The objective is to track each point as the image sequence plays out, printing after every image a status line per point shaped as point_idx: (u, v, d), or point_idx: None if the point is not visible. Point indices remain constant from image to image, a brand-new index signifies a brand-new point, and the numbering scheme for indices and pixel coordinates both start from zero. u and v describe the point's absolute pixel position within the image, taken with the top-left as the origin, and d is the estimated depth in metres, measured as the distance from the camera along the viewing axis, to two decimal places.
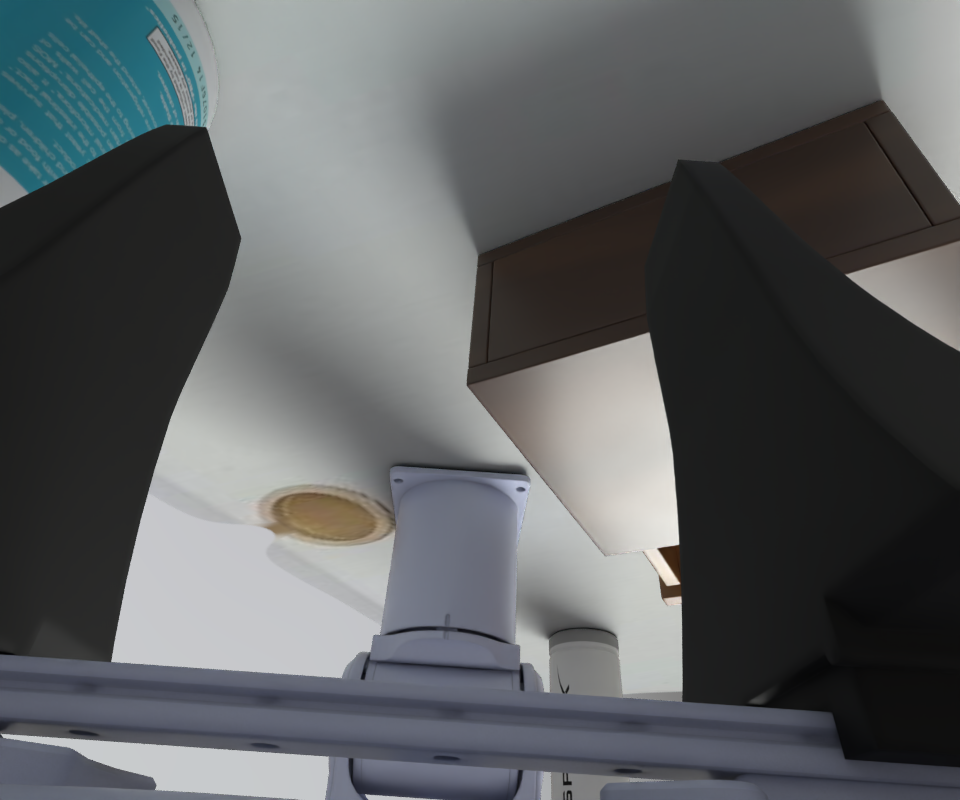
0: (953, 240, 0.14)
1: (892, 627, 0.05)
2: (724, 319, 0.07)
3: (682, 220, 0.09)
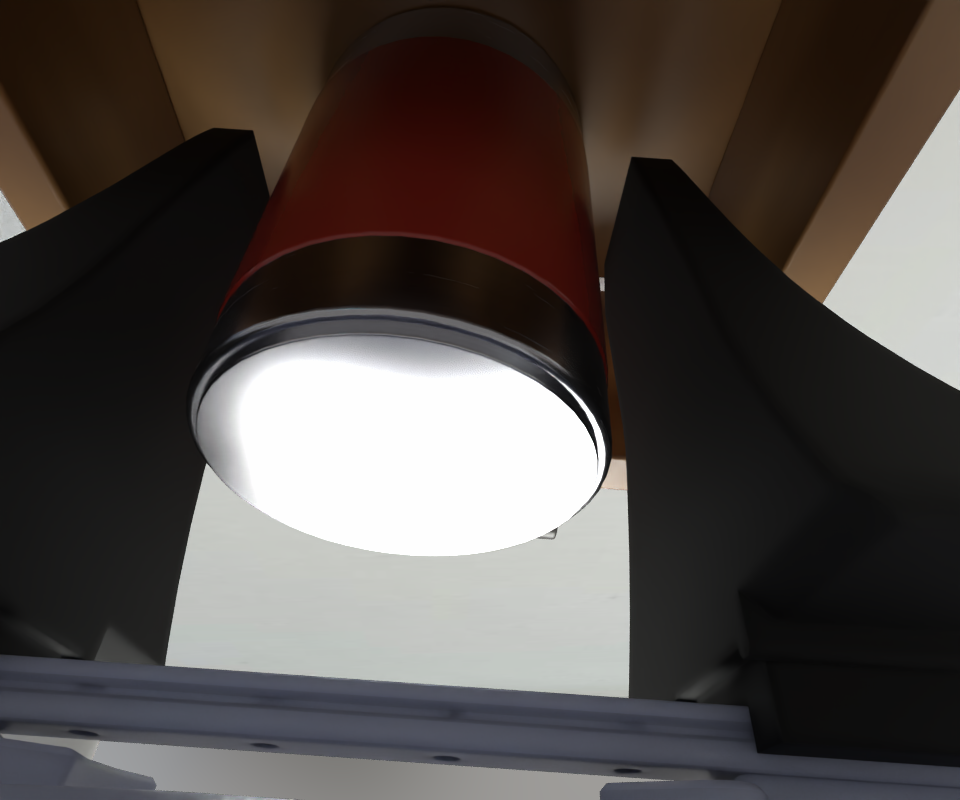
0: None
1: (801, 621, 0.05)
2: (666, 315, 0.07)
3: (633, 217, 0.09)
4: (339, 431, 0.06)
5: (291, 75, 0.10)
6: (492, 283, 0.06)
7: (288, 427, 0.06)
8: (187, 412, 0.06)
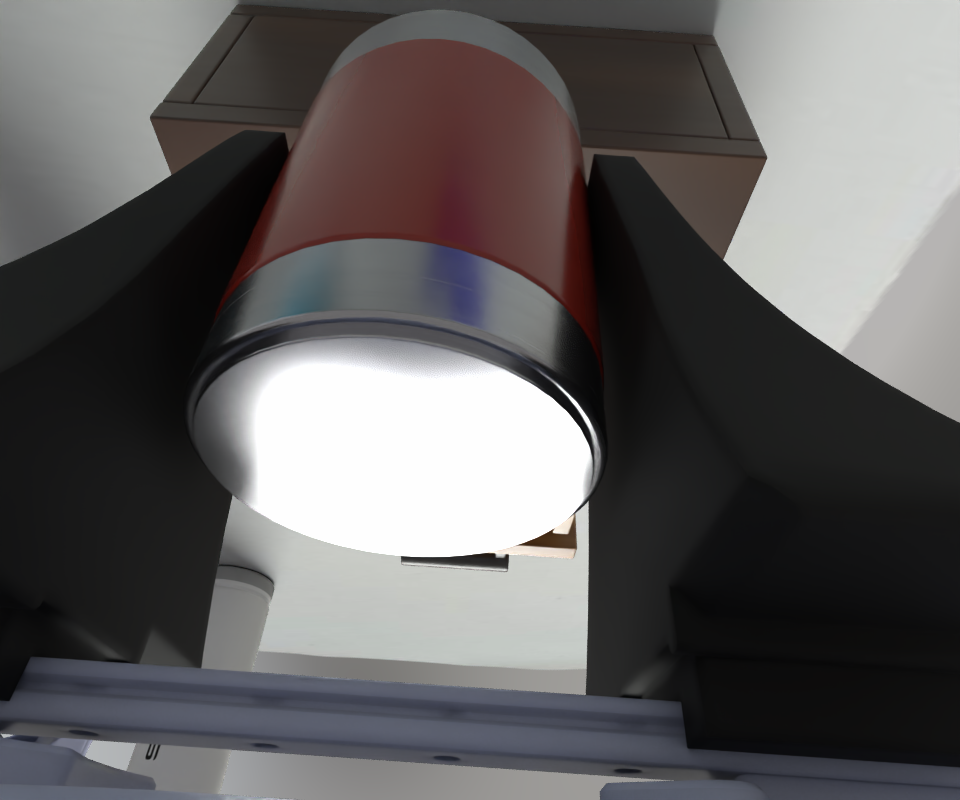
0: (743, 154, 0.13)
1: (729, 616, 0.05)
2: (620, 312, 0.07)
3: (594, 214, 0.09)
4: (335, 433, 0.06)
5: None
6: (487, 286, 0.06)
7: (284, 429, 0.06)
8: (184, 414, 0.06)
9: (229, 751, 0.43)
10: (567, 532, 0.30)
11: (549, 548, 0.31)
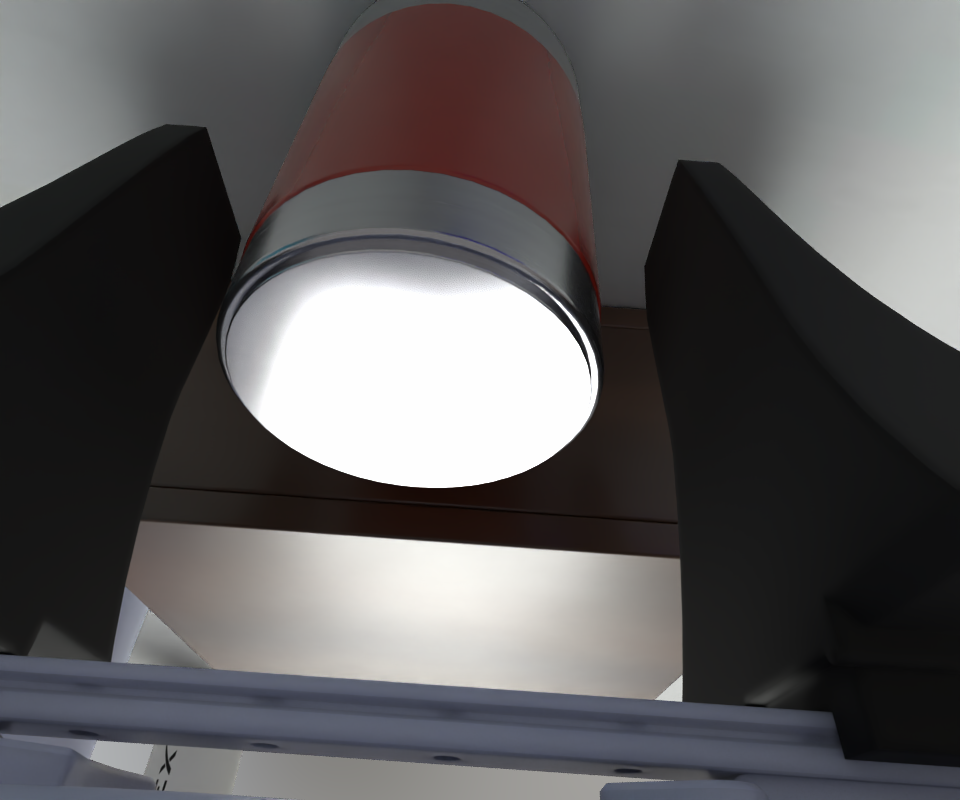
0: None
1: (892, 627, 0.05)
2: (724, 319, 0.07)
3: (682, 220, 0.09)
4: (356, 352, 0.07)
5: None
6: (495, 211, 0.06)
7: (309, 348, 0.07)
8: (217, 336, 0.07)
9: None
10: None
11: None
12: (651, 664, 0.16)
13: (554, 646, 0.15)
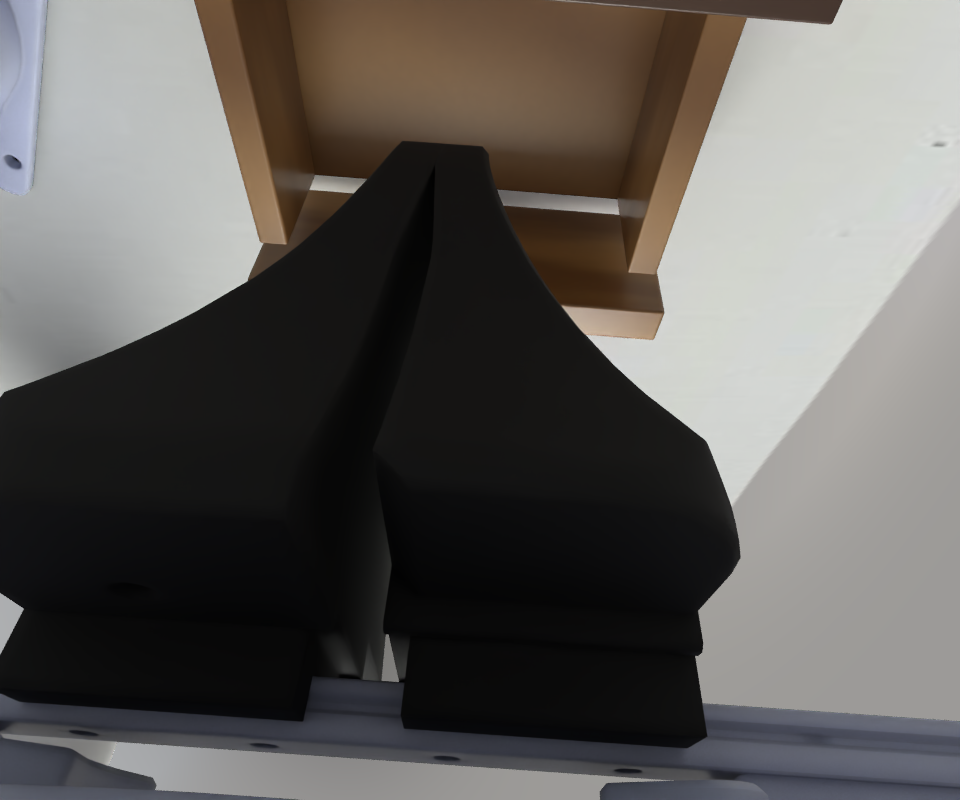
0: None
1: (435, 595, 0.05)
2: None
3: None
4: None
5: (374, 54, 0.16)
6: None
7: None
8: None
9: None
10: (654, 269, 0.17)
11: (618, 312, 0.18)
12: None
13: None
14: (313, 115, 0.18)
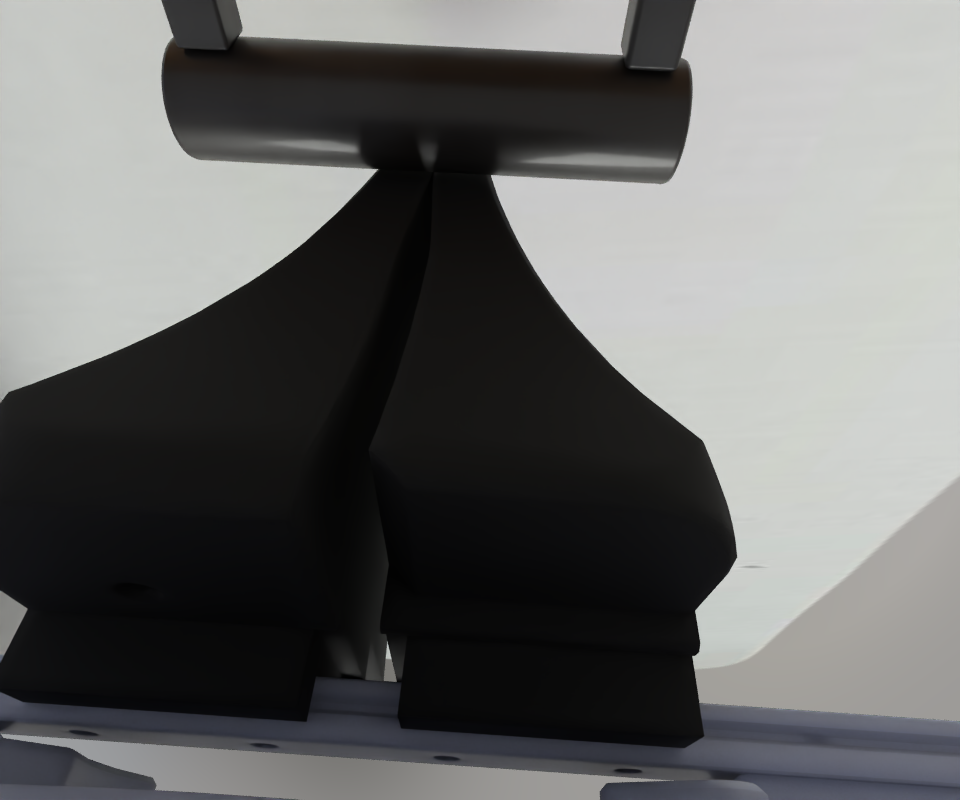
0: None
1: (432, 595, 0.05)
2: None
3: None
4: None
5: None
6: None
7: None
8: None
9: None
10: None
11: None
12: None
13: None
14: None
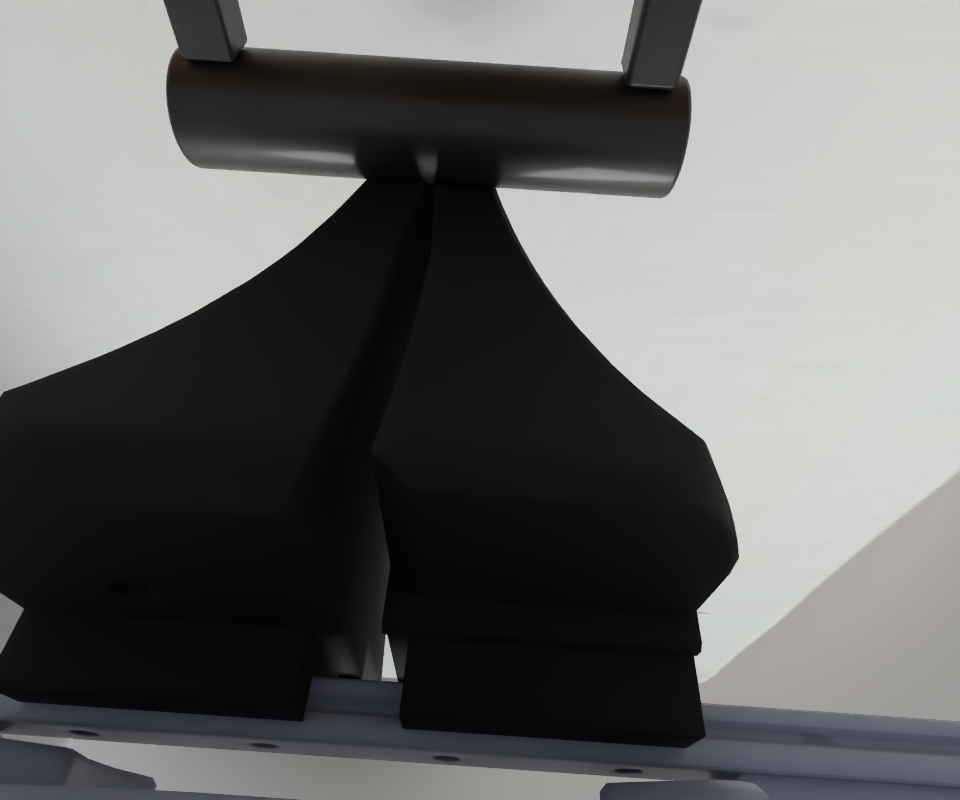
0: None
1: (434, 595, 0.05)
2: None
3: None
4: None
5: None
6: None
7: None
8: None
9: None
10: None
11: None
12: None
13: None
14: None
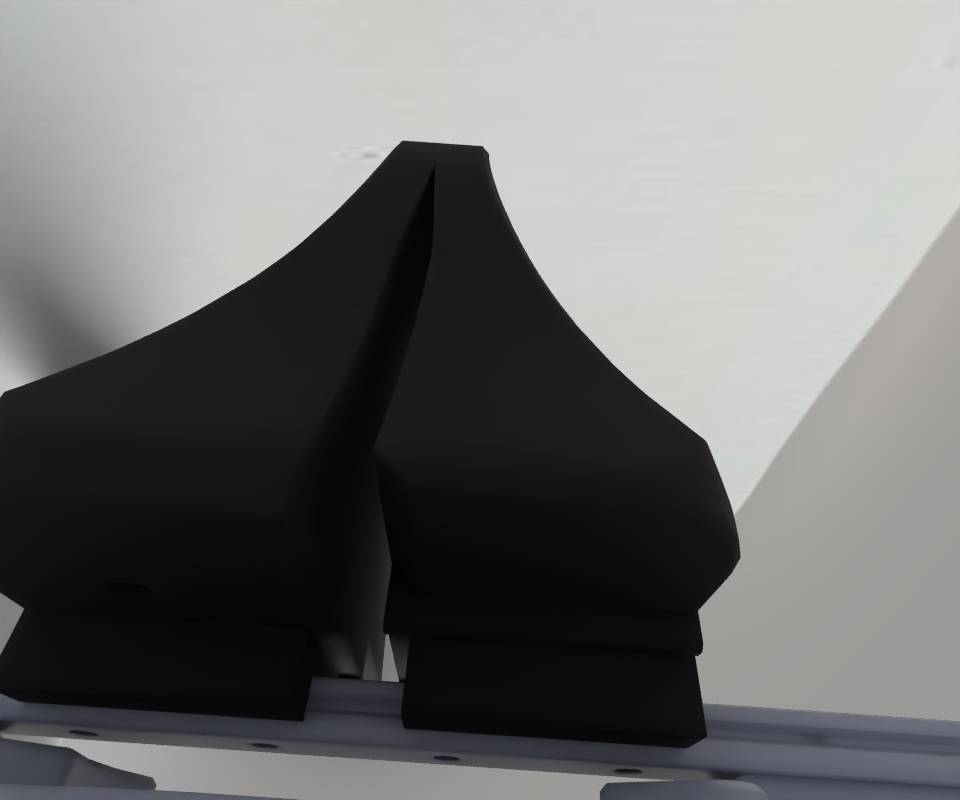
0: None
1: (435, 595, 0.05)
2: None
3: None
4: None
5: None
6: None
7: None
8: None
9: None
10: None
11: None
12: None
13: None
14: None
